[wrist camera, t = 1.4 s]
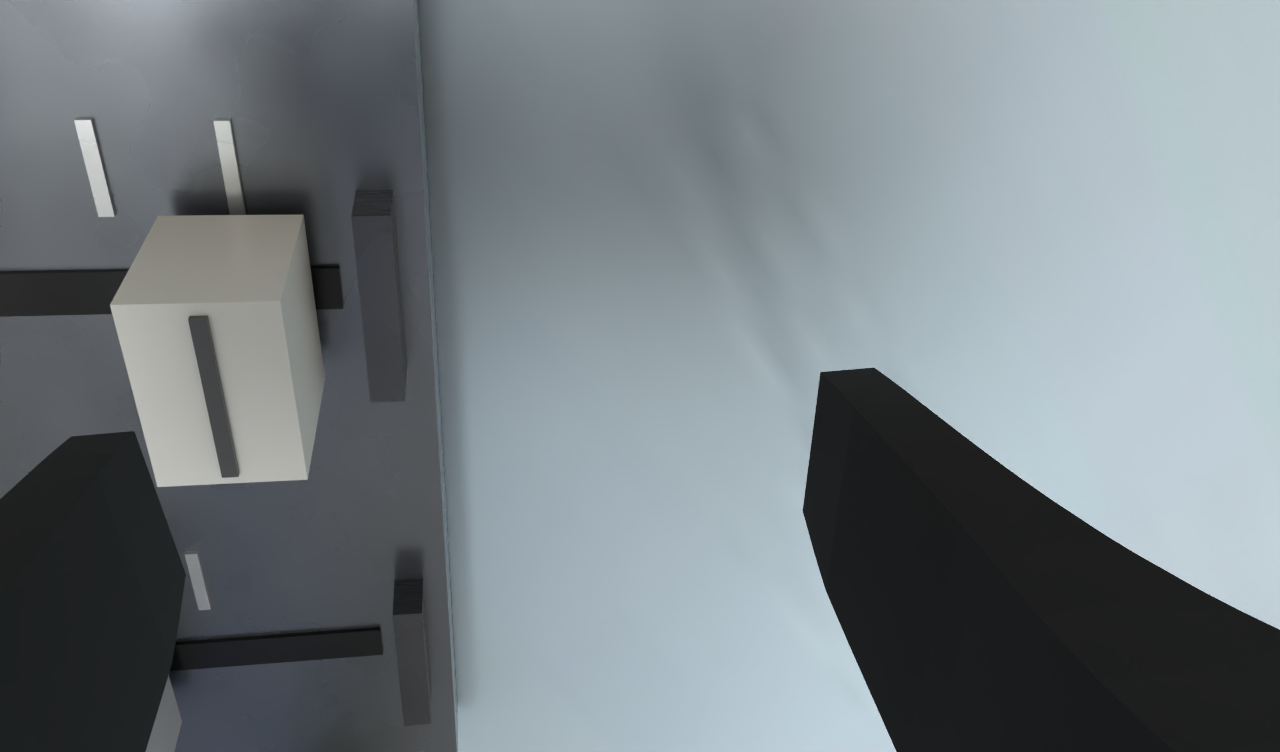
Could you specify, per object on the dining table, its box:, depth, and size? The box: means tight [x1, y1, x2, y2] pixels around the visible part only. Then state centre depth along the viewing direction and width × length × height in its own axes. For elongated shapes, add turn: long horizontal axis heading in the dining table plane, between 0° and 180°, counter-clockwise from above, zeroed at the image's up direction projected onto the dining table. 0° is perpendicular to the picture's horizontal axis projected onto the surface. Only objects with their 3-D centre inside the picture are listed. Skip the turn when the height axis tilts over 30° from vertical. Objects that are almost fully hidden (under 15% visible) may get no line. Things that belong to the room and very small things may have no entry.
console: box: [0, 0, 458, 752], centre depth 19 cm, size 20×14×3 cm
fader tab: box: [110, 215, 325, 487], centre depth 16 cm, size 3×2×3 cm
